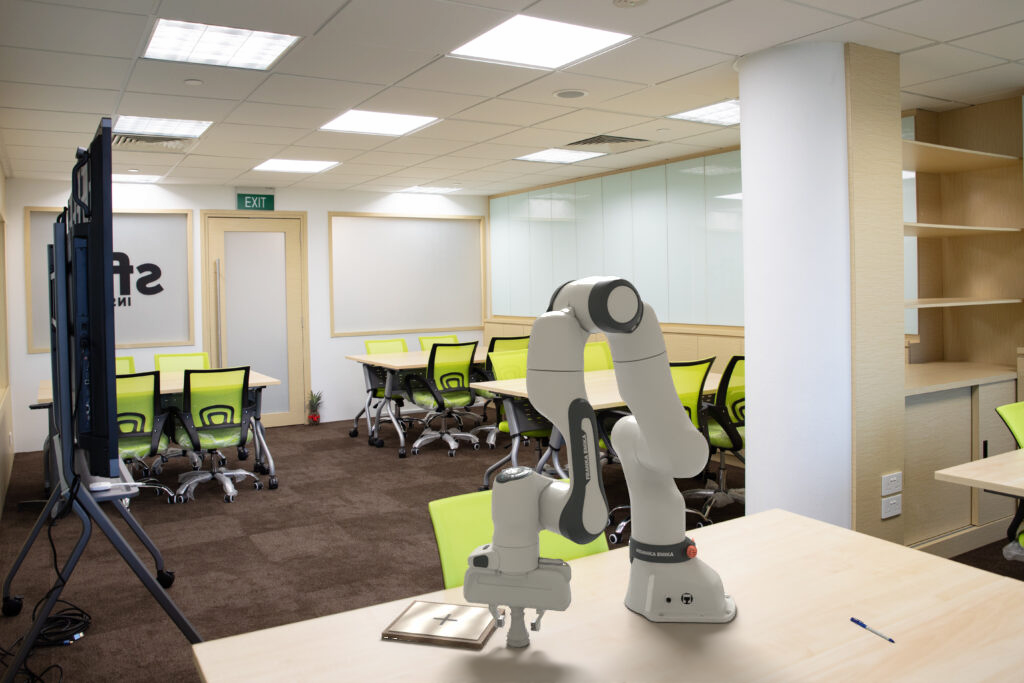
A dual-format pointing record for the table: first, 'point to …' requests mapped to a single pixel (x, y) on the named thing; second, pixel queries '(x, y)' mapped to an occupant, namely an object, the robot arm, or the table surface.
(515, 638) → the rook chess piece
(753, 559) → the table surface
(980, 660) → the table surface
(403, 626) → the brown-bordered mat
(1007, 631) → the table surface
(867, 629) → the ballpoint pen
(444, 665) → the table surface
